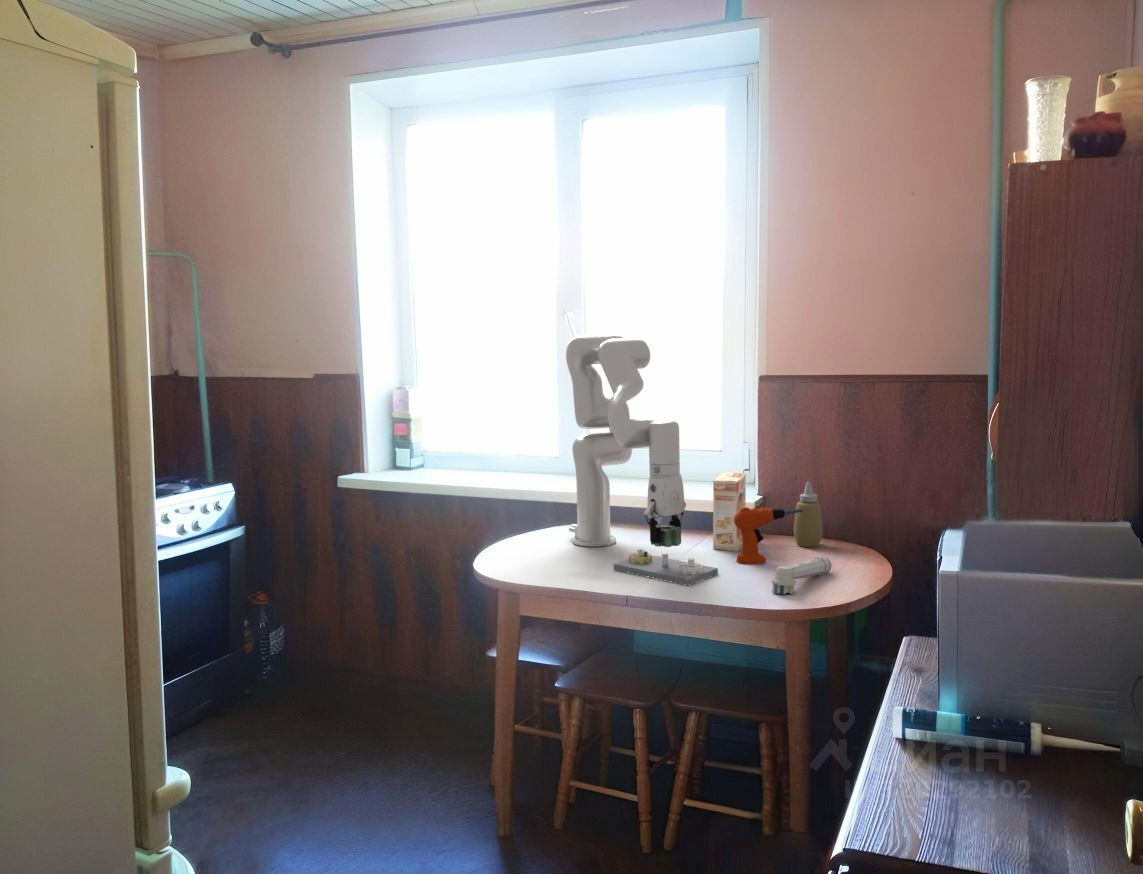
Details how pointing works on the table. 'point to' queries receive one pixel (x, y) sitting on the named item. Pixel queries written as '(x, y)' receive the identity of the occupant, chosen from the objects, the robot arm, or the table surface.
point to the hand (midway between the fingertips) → (665, 539)
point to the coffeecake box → (728, 509)
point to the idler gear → (670, 536)
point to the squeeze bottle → (808, 519)
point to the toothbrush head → (798, 574)
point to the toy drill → (755, 531)
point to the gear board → (665, 568)
